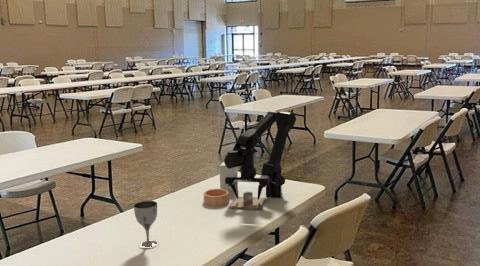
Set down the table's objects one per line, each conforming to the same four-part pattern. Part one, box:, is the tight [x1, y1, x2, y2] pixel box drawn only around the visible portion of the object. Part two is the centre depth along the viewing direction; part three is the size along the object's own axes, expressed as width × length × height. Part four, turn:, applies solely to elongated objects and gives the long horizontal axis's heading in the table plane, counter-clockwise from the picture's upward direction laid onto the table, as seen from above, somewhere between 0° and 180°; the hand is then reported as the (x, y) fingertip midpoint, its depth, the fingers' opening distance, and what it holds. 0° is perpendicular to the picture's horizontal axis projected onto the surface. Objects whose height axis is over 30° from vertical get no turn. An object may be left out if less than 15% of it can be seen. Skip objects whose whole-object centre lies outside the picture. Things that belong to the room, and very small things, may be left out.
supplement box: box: [219, 161, 239, 192], centre depth 222 cm, size 7×7×13 cm
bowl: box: [202, 188, 230, 207], centre depth 205 cm, size 11×11×4 cm
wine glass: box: [133, 200, 158, 247], centre depth 163 cm, size 8×8×15 cm
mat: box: [226, 196, 269, 212], centre depth 201 cm, size 15×15×1 cm
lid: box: [230, 191, 267, 211], centre depth 201 cm, size 13×13×5 cm
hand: (248, 198), depth 201 cm, fingers open, 9 cm apart
